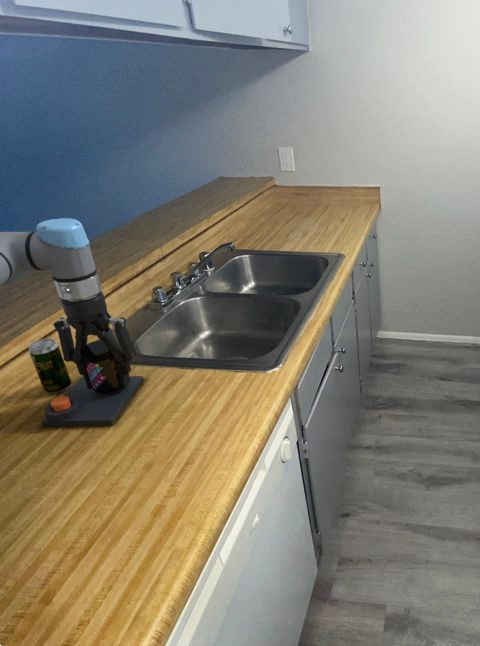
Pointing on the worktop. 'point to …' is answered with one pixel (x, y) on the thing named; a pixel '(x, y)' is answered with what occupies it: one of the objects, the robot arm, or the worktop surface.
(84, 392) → the kitchen scale
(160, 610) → the worktop surface
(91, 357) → the supplement container
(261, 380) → the worktop surface
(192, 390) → the worktop surface
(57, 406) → the button
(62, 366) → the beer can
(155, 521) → the worktop surface
